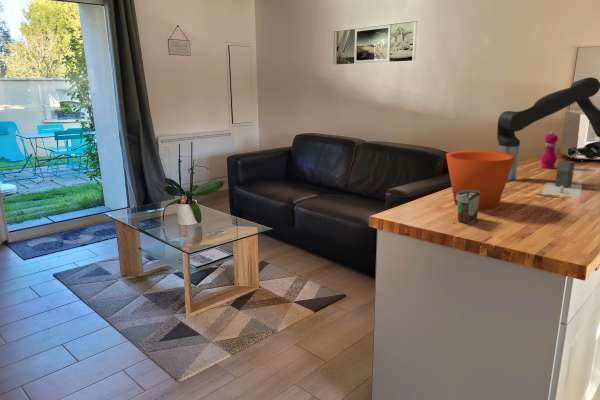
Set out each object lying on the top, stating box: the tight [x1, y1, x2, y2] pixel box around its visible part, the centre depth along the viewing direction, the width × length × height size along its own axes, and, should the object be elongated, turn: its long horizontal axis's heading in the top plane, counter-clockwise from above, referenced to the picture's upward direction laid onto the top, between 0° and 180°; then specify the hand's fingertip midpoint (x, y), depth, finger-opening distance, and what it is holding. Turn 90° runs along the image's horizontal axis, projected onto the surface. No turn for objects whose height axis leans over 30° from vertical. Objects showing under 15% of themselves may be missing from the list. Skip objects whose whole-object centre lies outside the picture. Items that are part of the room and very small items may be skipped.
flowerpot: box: [445, 149, 515, 210], centre depth 174 cm, size 25×25×20 cm
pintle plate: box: [540, 181, 583, 200], centre depth 190 cm, size 24×14×4 cm, turn 147°
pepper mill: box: [540, 131, 559, 170], centre depth 239 cm, size 7×7×20 cm
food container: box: [456, 190, 480, 226], centre depth 156 cm, size 12×6×10 cm, turn 141°
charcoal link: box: [555, 160, 575, 188], centre depth 194 cm, size 5×5×11 cm
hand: (579, 154), depth 198 cm, fingers open, 8 cm apart
